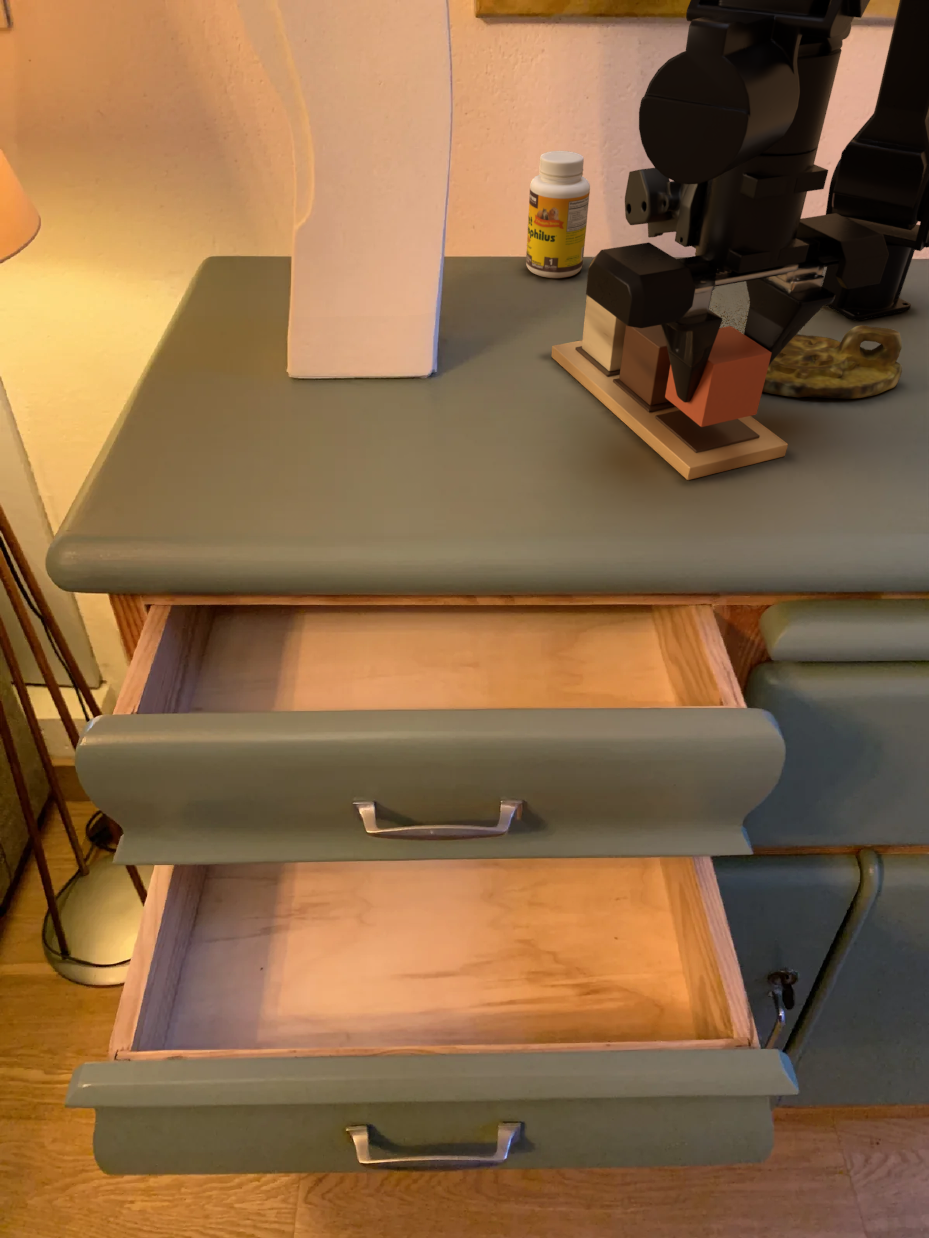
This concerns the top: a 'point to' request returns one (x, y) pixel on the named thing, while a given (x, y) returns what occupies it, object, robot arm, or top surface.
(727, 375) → the orange-red cube
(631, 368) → the dark brown cube
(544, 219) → the supplement bottle
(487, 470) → the top surface
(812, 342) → the olive brown carved pendant
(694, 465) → the word board
